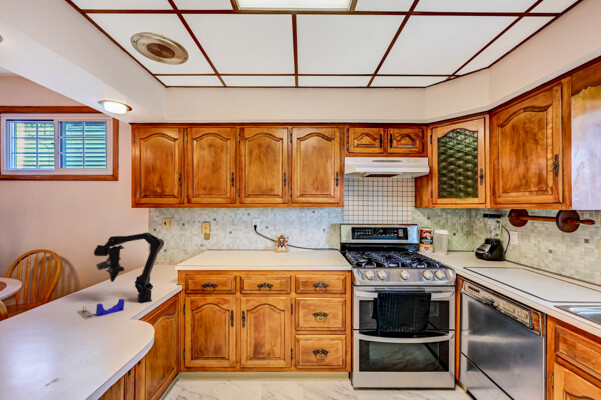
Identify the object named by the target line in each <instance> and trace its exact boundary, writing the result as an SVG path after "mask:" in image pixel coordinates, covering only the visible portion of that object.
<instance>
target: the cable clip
mask: <svg viewBox="0 0 601 400" xmlns="http://www.w3.org/2000/svg"><path fill="white" fill-rule="evenodd" d="M124 309H125V299H124V298H119V299H118V302H117V304H114V305H112V307H110V308H108V309H105V308H104V304H102V303H97V304H96V310H95V311H96V312H95V317H103V316H107V315H111V314H115V313H118V312H123V311H124Z"/></svg>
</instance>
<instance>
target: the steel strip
mask: <svg viewBox="0 0 601 400" xmlns="http://www.w3.org/2000/svg"><path fill="white" fill-rule="evenodd" d="M76 312H77V313H78V314H79V315H80V316H81V317H82V318H83V319H84V320H87V319H91V318H95V317H96V315H95V314H94V313H92V312H90V310H89V309H87V306H86V305H83V306H82V309H81V310H77V311H76Z"/></svg>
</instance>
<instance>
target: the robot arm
mask: <svg viewBox="0 0 601 400" xmlns="http://www.w3.org/2000/svg"><path fill="white" fill-rule="evenodd" d="M140 240H145V241H146V243H148V244H149V254H148V257H147V259H146V262H145V265H144V266H143V267H144V268H143V270H142V273H141V274H140V275H138V276H136V278H135V282H134V287H135V289H136V290H137V293H138V294H137V298H136V301H137V302H138V303H140V304H145V303H148V302H152V301H153V300H152V290H153V288H154V286H153V284H152V283H151V282H150V281H151V273H152V270H153V268H154V265H155V263H156V260H157V256H158V254H159V253H160V251H161V250H162V249H163V247H164V245H165V241H164V239H162V238H159V237H157V236H156V235H153V234H152V233H150V232H142V233H138V234H131V235H115V236H114V235H113V236H110V237H109V238H108V240H107V241H106V242H105V244H104V245H103V244H98V245H96V248H95V249H94V250H93V254H94V256H95V257H107V256H108V257H107V258H106V260H104V261H101V262H99V263H96V264H95V265H96V269H97V270H98V271H101V270H105V272H107V273H108V275H109V278H110V279H109V280H110V282H111V283H114V281H115V280H116V278H117V277H118V275H119V273H120V272H124V271H125V267H123V266H122V265H121V264H120V261H121V260H122V259H121V258H122V257H120V256H121V250H123V249H125V247H123V246H122V245H123V244H125V243H128V242H134V241H140Z"/></svg>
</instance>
